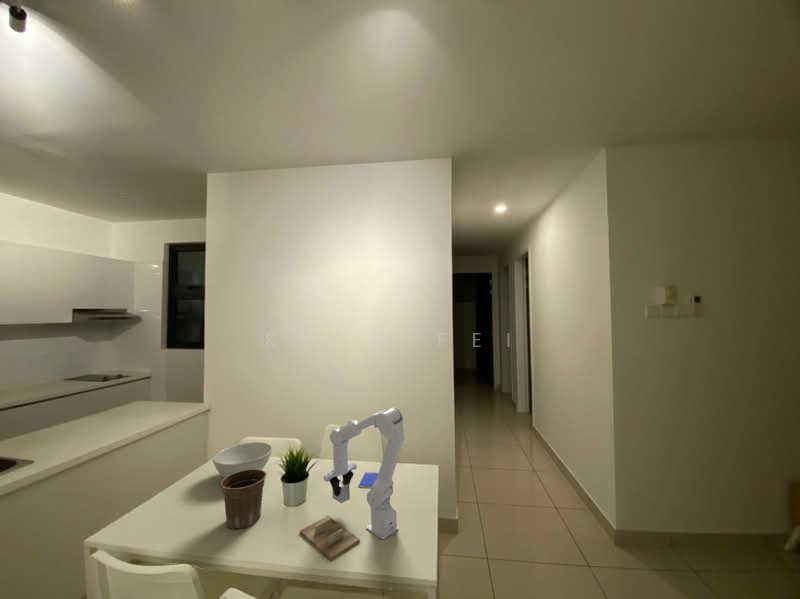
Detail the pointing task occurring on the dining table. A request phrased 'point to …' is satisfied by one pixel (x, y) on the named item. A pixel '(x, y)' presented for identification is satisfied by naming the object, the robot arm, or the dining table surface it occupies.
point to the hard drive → (368, 480)
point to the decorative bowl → (242, 458)
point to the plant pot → (243, 497)
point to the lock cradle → (329, 537)
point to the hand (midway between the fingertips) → (341, 493)
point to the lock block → (342, 492)
